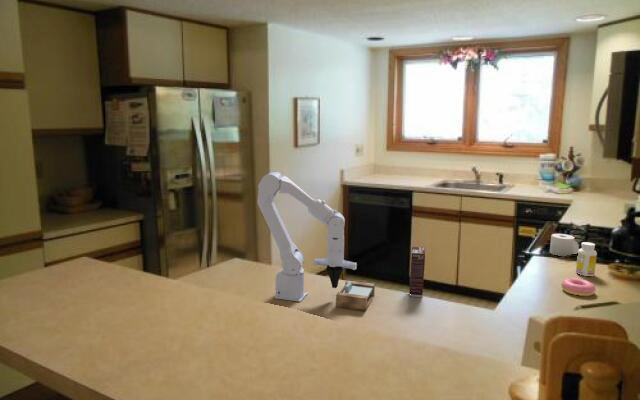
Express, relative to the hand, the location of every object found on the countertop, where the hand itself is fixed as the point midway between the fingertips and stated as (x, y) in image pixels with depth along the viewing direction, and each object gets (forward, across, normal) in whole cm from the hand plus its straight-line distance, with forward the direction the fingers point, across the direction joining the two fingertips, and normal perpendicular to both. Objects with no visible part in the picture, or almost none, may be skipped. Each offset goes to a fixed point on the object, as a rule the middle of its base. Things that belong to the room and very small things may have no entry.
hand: (334, 287), depth 166 cm
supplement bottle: (+5, +88, +58) cm, 105 cm away
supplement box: (+4, +26, +15) cm, 30 cm away
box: (+4, +8, 0) cm, 9 cm away
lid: (+1, +8, 0) cm, 8 cm away
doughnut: (+5, +82, +36) cm, 89 cm away
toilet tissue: (+5, +84, +85) cm, 120 cm away
